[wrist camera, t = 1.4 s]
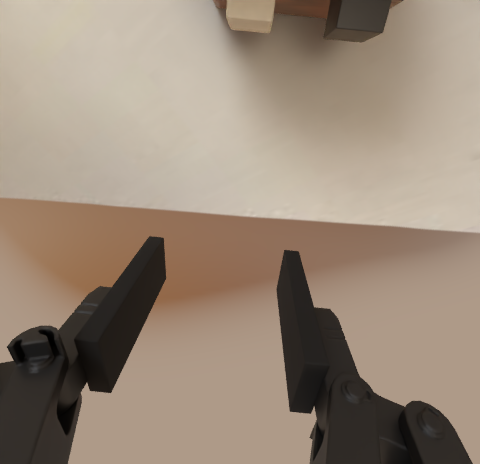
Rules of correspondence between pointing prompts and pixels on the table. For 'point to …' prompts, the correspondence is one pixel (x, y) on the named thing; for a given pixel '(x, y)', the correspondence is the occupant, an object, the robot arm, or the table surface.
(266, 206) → the table surface
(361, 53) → the table surface
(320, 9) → the toy piano
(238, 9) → the ivory key
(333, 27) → the black key
